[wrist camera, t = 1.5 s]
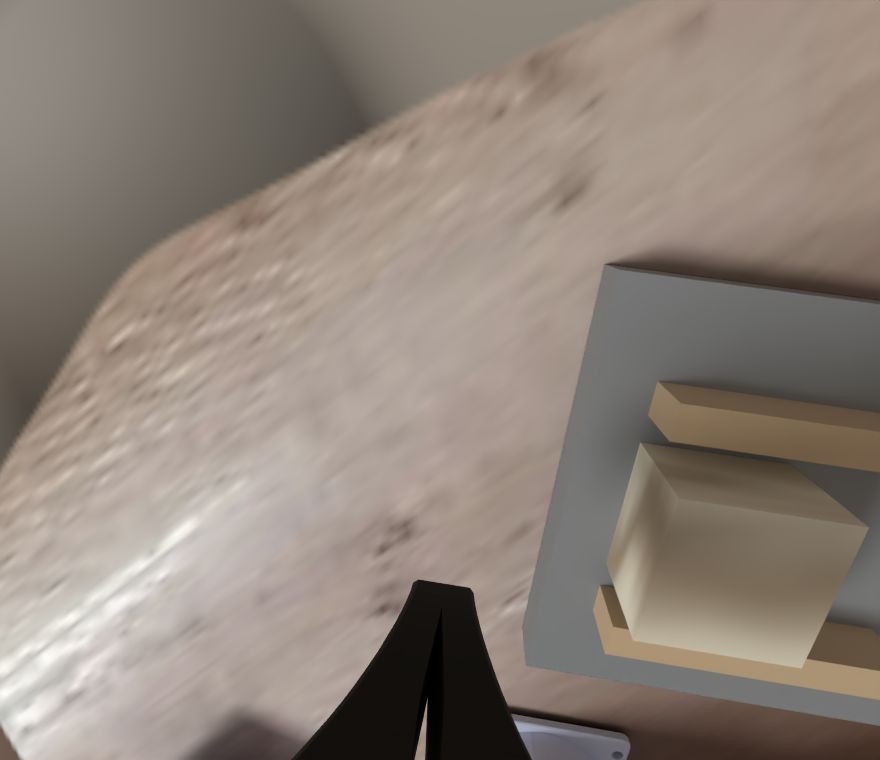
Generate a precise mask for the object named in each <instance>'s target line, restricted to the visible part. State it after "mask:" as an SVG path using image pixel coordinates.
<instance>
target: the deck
mask: <svg viewBox="0 0 880 760" xmlns="http://www.w3.org/2000/svg"><path fill="white" fill-rule="evenodd" d="M640 442H641V443H648V444H654V445H661V446H668V447H675V448H681V449H688V450H695V451H702V452H708V453H715V454H722V455H729V456H735V457H742V458H749V459H756V460H762V461H769V462H776V463H783V464H790V465H792V466H793V467H795V468H796V469H797V470H798V471H800V472H801V473H802V474H803V475H805V476H806V477H807V478H808V479H810V480H811V481H812V482H813V483H815V484H816V485H817V486H818V487H820V488H821V489H822V490H823V491H824V492H826V493H827V494H828V495H829V496H831V497H832V498H833V499H834V500H836V501H837V502H838V503H839V504H841V505H842V506H843V507H844V508H846V509H847V510H848V511H849V512H851V513H852V514H853V515H854V516H856V517H857V518H858V519H859V520H861V521H862V522H863V523H864V524H866V525H867V526H868V527H869V529H868V531H867V533H866V536H865V538H864V540H863V542H862V544H861V546H860V548H859V550H858V552H857V554H856V556H855V558H854V561H853V563H852V565H851V567H850V569H849V571H848V573H847V575H846V577H845V579H844V581H843V583H842V586H841V588H840V590H839V592H838V594H837V596H836V598H835V600H834V602H833V604H832V606H831V608H830V610H829V613H828V615H827V617H826V619H825V621H824V623H823V625H822V627H821V629H820V631H819V633H818V635H817V638H816V640H815V642H814V644H813V646H812V648H811V650H810V652H809V654H808V656H807V658H806V660H805V663H804V665H803V667H802V669H801V668H795V667H789V666H783V665H777V664H771V663H765V662H759V661H753V660H747V659H741V658H735V657H729V656H723V655H717V654H711V653H705V652H699V651H693V650H687V649H681V648H675V647H669V646H663V645H657V644H651V643H645V642H639V641H633V639H632V636H631V633H630V630H629V627H628V625H627V622H626V619H625V616H624V613H623V610H622V608H621V605H620V602H619V599H618V596H617V593H616V590H615V588H614V585H613V582H612V579H611V576H610V573H609V570H608V568H607V565H606V562H607V558H608V555H609V551H610V548H611V544H612V541H613V537H614V534H615V530H616V526H617V523H618V519H619V516H620V512H621V509H622V505H623V502H624V498H625V495H626V491H627V488H628V484H629V480H630V477H631V473H632V470H633V466H634V463H635V459H636V456H637V452H638V449H639V445H640ZM522 628H523V639H524V650H525V661H526V666H531V667H537V668H542V669H548V670H554V671H560V672H566V673H572V674H578V675H584V676H590V677H595V678H601V679H607V680H613V681H619V682H625V683H631V684H637V685H643V686H648V687H654V688H660V689H666V690H672V691H678V692H684V693H690V694H696V695H701V696H707V697H713V698H719V699H725V700H731V701H737V702H743V703H748V704H754V705H760V706H766V707H772V708H778V709H784V710H790V711H796V712H801V713H807V714H813V715H819V716H825V717H831V718H837V719H843V720H849V721H854V722H860V723H866V724H872V725H878V726H880V300H872V299H864V298H857V297H849V296H842V295H834V294H827V293H819V292H811V291H804V290H796V289H789V288H781V287H774V286H766V285H759V284H751V283H743V282H736V281H728V280H721V279H713V278H706V277H698V276H691V275H683V274H675V273H668V272H660V271H653V270H645V269H638V268H630V267H622V266H615V265H607V264H605V265H604V269H603V273H602V278H601V282H600V287H599V291H598V295H597V300H596V304H595V309H594V313H593V318H592V322H591V326H590V331H589V335H588V340H587V344H586V348H585V353H584V357H583V362H582V366H581V371H580V375H579V379H578V384H577V388H576V393H575V397H574V401H573V406H572V410H571V415H570V419H569V423H568V428H567V432H566V437H565V441H564V446H563V450H562V454H561V459H560V463H559V468H558V472H557V476H556V481H555V485H554V490H553V494H552V499H551V503H550V507H549V512H548V516H547V521H546V525H545V529H544V534H543V538H542V543H541V547H540V552H539V556H538V560H537V565H536V569H535V574H534V578H533V582H532V587H531V591H530V596H529V600H528V604H527V609H526V613H525V618H524V622H523V627H522Z"/></svg>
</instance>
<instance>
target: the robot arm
mask: <svg viewBox="0 0 880 760" xmlns="http://www.w3.org/2000/svg"><path fill="white" fill-rule="evenodd" d="M427 698H428V703H427ZM426 703H427V728H426V754H425V760H627V757H628V754H629V751H630V742H629V739H628V737H627V736H626V735H625V734H622V733H619V732H613V731H607V730H601V729H596V728H590V727H584V726H579V725H573V724H567V723H561V722H556V721H550V720H544V719H538V718H533V717H527V716H521V715H516V714H511V713H510V711H509V708H508V706H507V703H506V701H505V698H504V696H503V693H502V691H501V688H500V686H499V683H498V680H497V678H496V675H495V672H494V669H493V666H492V663H491V660H490V658H489V655H488V652H487V649H486V645H485V642H484V639H483V635H482V632H481V628H480V624H479V620H478V616H477V612H476V607H475V601H474V593H473V592H472V590H471V589H470V588H467V587H461V586H455V585H449V584H443V583H436V582H430V581H424V580H417V581H415V582H414V583H413V585H412V588H411V591H410V594H409V596H408V599H407V601H406V603H405V605H404V607H403V609H402V611H401V613H400V615H399V617H398V619H397V621H396V622H395V624H394V626H393V628H392V629H391V631H390V633H389V634H388V636H387V638H386V639H385V641H384V643H383V644H382V646H381V648H380V649H379V651H378V652H377V654H376V655H375V657H374V658H373V660H372V661H371V662H370V664H369V665H368V667H367V668H366V670H365V671H364V673H363V674H362V675H361V677H360V678H359V680H358V681H357V683H356V684H355V685H354V687H353V688H352V689H351V691H350V692H349V693H348V695H347V696H346V697H345V698H344V700H343V701H342V702H341V703H340V705H339V706H338V707H337V708H336V710H335V711H334V712H333V713H332V715H331V716H330V717H329V718H328V719H327V721H326V722H325V723H324V724H323V725H322V726H321V727H320V729H319V730H318V731H317V732H316V733H315V734H314V735H313V736H312V738H311V739H310V740H309V741H308V742H307V743H306V744H305V745H304V747H303V748H302V749H301V750H300V751H299V752H298V753H297V754H296V755H295V756H294V757H293V758H292V759H291V760H414V759H415V755H416V750H417V745H418V741H419V736H420V731H421V726H422V722H423V717H424V712H425V708H426Z"/></svg>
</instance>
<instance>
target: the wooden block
mask: <svg viewBox="0 0 880 760" xmlns="http://www.w3.org/2000/svg"><path fill="white" fill-rule="evenodd" d="M868 529H869V527H868V526H867V525H866V524H864V523H863V522H862V521H861V520H859V519H858V518H857V517H856V516H854V515H853V514H852V513H851V512H849V511H848V510H847V509H846V508H844V507H843V506H842V505H841V504H839V503H838V502H837V501H836V500H834V499H833V498H832V497H831V496H829V495H828V494H827V493H826V492H824V491H823V490H822V489H821V488H820V487H818V486H817V485H816V484H815V483H813V482H812V481H811V480H810V479H808V478H807V477H806V476H805V475H803V474H802V473H801V472H800V471H798V470H797V469H796V468H795V467H793V466H792V465H790V464H783V463H776V462H769V461H762V460H756V459H749V458H742V457H735V456H729V455H722V454H715V453H708V452H702V451H695V450H688V449H681V448H675V447H668V446H661V445H654V444H648V443H641V442H640V445H639V449H638V452H637V456H636V459H635V463H634V466H633V470H632V473H631V477H630V480H629V484H628V488H627V491H626V495H625V498H624V502H623V505H622V509H621V512H620V516H619V519H618V523H617V526H616V530H615V534H614V537H613V541H612V544H611V548H610V551H609V555H608V558H607V562H606V565H607V568H608V570H609V573H610V576H611V579H612V582H613V585H614V588H615V590H616V593H617V596H618V599H619V602H620V605H621V608H622V610H623V613H624V616H625V619H626V622H627V625H628V627H629V630H630V633H631V636H632V639H633V641H639V642H645V643H651V644H657V645H663V646H669V647H675V648H681V649H687V650H693V651H699V652H705V653H711V654H717V655H723V656H729V657H735V658H741V659H747V660H753V661H759V662H765V663H771V664H777V665H783V666H789V667H795V668H801V669H802V667H803V665H804V663H805V660H806V658H807V656H808V654H809V652H810V650H811V648H812V646H813V644H814V642H815V640H816V638H817V635H818V633H819V631H820V629H821V627H822V625H823V623H824V621H825V619H826V617H827V615H828V613H829V610H830V608H831V606H832V604H833V602H834V600H835V598H836V596H837V594H838V592H839V590H840V588H841V586H842V583H843V581H844V579H845V577H846V575H847V573H848V571H849V569H850V567H851V565H852V563H853V561H854V558H855V556H856V554H857V552H858V550H859V548H860V546H861V544H862V542H863V540H864V538H865V536H866V533H867V531H868Z"/></svg>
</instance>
